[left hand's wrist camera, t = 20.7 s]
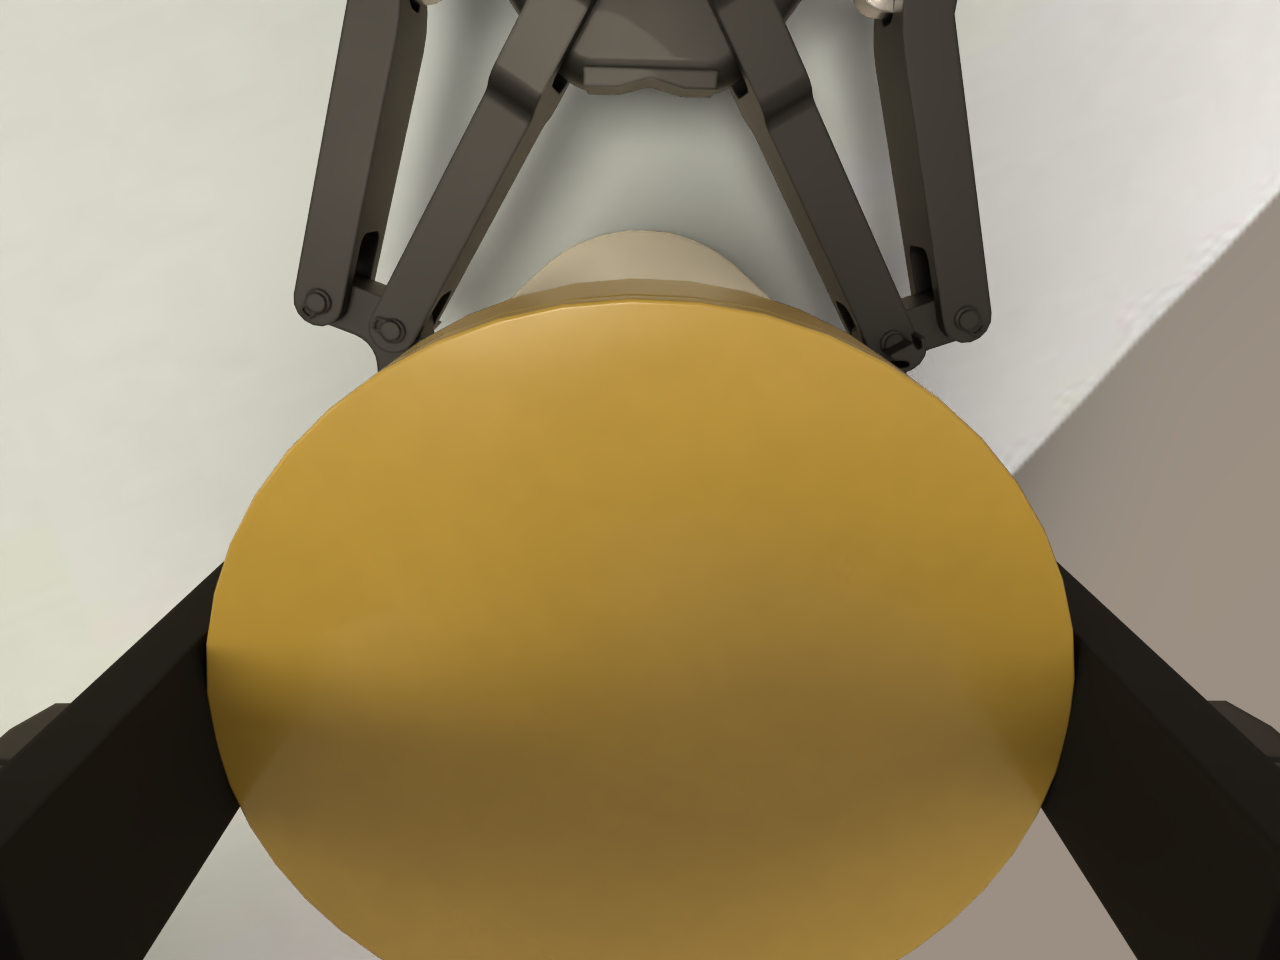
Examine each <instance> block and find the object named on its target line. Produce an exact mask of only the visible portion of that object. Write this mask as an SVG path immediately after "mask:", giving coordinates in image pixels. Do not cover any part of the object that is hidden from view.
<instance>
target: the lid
mask: <svg viewBox="0 0 1280 960" xmlns="http://www.w3.org/2000/svg"><path fill="white" fill-rule="evenodd" d="M1074 681H1075V673H1074V645H1073V627H1072V622H1071V617H1070V612H1069V607H1068V602H1067V597H1066V592H1065V587H1064V582H1063V578H1062V575H1061V573H1060V570H1059V567H1058V565H1057V562H1056V559H1055V557H1054V554H1053V551H1052V549H1051V546H1050V543H1049V541H1048V538H1047V535H1046V533H1045V530H1044V528H1043V527H1042V525H1041V523H1040V521H1039V519H1038V518H1037V516H1036V514H1035V512H1034V511H1033V509H1032V507H1031V506H1030V504H1029V502H1028V500H1027V498H1026V497H1025V495H1024V493H1023V491H1022V490H1021V488H1020V486H1019V484H1018V483H1017V481H1016V480H1015V479H1014V478H1013V476H1012V475H1011V474H1010V473H1009V471H1008V470H1007V469H1006V468H1005V466H1004V465H1003V464H1002V463H1001V461H1000V460H999V459H998V458H997V456H996V455H995V454H994V453H993V451H992V450H991V449H990V448H989V446H988V445H987V444H986V443H985V441H984V440H983V439H982V438H981V437H980V436H979V435H978V434H977V433H976V432H975V431H974V430H973V429H971V428H970V427H969V426H968V425H967V424H966V423H965V422H964V421H963V420H962V419H961V418H960V417H958V416H957V415H956V414H955V413H954V412H953V411H952V410H951V409H950V408H949V407H948V406H947V405H945V404H944V403H943V402H942V401H941V400H940V399H939V398H938V397H936V396H935V395H934V394H932V393H931V392H930V391H928V390H927V389H926V388H924V387H923V386H922V385H920V384H919V383H918V382H916V381H915V380H914V379H912V378H911V377H910V376H908V375H907V374H905V373H904V372H903V371H901V370H900V369H899V368H897V367H896V366H895V365H893V364H892V363H891V362H889V361H888V360H886V359H885V358H883V357H882V356H880V355H879V354H877V353H876V352H875V351H873V350H872V349H870V348H869V347H867V346H866V345H864V344H863V343H861V342H860V341H858V340H857V339H855V338H854V337H852V336H851V335H850V334H848V333H846V332H844V331H842V330H840V329H838V328H836V327H834V326H832V325H830V324H828V323H826V322H824V321H822V320H820V319H818V318H816V317H814V316H812V315H810V314H808V313H806V312H804V311H802V310H800V309H797V308H794V307H791V306H788V305H785V304H782V303H779V302H776V301H773V300H770V299H767V298H764V297H761V296H758V295H755V294H752V293H749V292H746V291H740V290H735V289H730V288H724V287H719V286H713V285H708V284H703V283H697V282H692V281H678V280H657V279H636V278H630V279H618V280H607V281H595V282H584V283H574V284H570V285H565V286H561V287H556V288H552V289H547V290H543V291H538V292H534V293H529V294H525V295H521V296H518V297H515V298H512V299H510V300H507V301H504V302H502V303H499V304H496V305H494V306H491V307H488V308H486V309H483V310H480V311H477V312H475V313H472V314H469V315H467V316H465V317H463V318H462V319H460V320H458V321H456V322H454V323H452V324H451V325H449V326H447V327H445V328H443V329H441V330H439V331H438V332H436V333H434V334H432V335H430V336H428V337H427V338H425V339H423V340H421V341H420V342H418V343H417V344H415V345H414V346H413V347H411V348H410V349H409V350H407V351H406V352H405V353H403V354H402V355H401V356H399V357H398V358H397V359H395V360H394V361H393V362H391V363H390V364H389V365H387V366H386V367H384V368H383V369H382V370H380V371H379V372H378V373H376V374H375V375H374V376H372V377H371V378H370V379H368V380H367V381H366V382H364V383H363V384H362V385H360V386H359V387H358V388H356V389H355V390H354V391H352V392H351V393H350V394H348V395H347V396H346V397H344V398H343V399H342V400H340V401H339V402H338V403H336V404H335V405H333V406H332V407H331V408H329V409H328V410H327V411H326V412H325V413H324V414H323V415H322V416H321V417H320V418H319V419H318V420H317V421H316V422H315V423H314V424H313V425H312V426H311V427H310V428H309V429H308V430H307V431H306V432H305V433H304V434H303V435H302V437H301V438H300V439H299V440H298V441H297V442H296V443H295V444H294V445H293V446H292V447H291V448H290V449H289V450H288V451H287V452H286V453H285V455H284V456H283V457H282V459H281V460H280V462H279V463H278V464H277V466H276V467H275V468H274V470H273V471H272V473H271V474H270V475H269V477H268V478H267V479H266V481H265V482H264V484H263V485H262V486H261V488H260V489H259V490H258V492H257V493H256V495H255V496H254V498H253V500H252V502H251V504H250V506H249V508H248V510H247V512H246V514H245V516H244V517H243V519H242V521H241V523H240V525H239V527H238V529H237V531H236V533H235V535H234V537H233V539H232V541H231V543H230V546H229V549H228V552H227V555H226V558H225V561H224V564H223V567H222V570H221V573H220V577H219V580H218V583H217V586H216V589H215V592H214V598H213V604H212V611H211V617H210V624H209V631H208V637H207V696H208V702H209V707H210V712H211V716H212V721H213V726H214V731H215V736H216V740H217V744H218V748H219V752H220V756H221V760H222V763H223V767H224V770H225V773H226V776H227V779H228V782H229V785H230V787H231V789H232V791H233V793H234V795H235V797H236V799H237V801H238V803H239V805H240V807H241V809H242V811H243V813H244V815H245V817H246V819H247V821H248V823H249V825H250V827H251V829H252V830H253V832H254V833H255V834H256V836H257V837H258V839H259V840H260V842H261V843H262V845H263V846H264V848H265V849H266V851H267V852H268V854H269V855H270V857H271V858H272V860H273V861H274V863H275V864H276V865H277V867H278V868H279V869H280V870H281V871H282V872H283V873H284V875H285V876H286V877H287V878H288V879H289V880H290V881H291V883H292V884H293V885H294V886H295V887H296V888H297V889H298V891H299V892H300V893H301V894H302V895H303V896H304V898H305V899H306V900H307V901H308V902H310V903H311V904H312V905H313V906H314V907H315V908H316V909H317V910H318V911H320V912H321V913H322V914H323V915H324V916H325V917H326V918H327V919H328V920H330V921H331V922H332V923H333V924H334V925H335V926H336V927H337V928H338V929H340V930H341V931H342V932H343V933H345V934H346V935H348V936H349V937H350V938H352V939H353V940H355V941H356V942H357V943H359V944H360V945H362V946H363V947H364V948H366V949H367V950H369V951H370V952H371V953H373V954H374V955H376V956H377V957H378V958H380V959H382V960H898V959H900V958H902V957H903V956H905V955H907V954H908V953H910V952H912V951H913V950H915V949H916V948H917V947H918V946H920V945H921V944H922V943H924V942H925V941H926V940H928V939H929V938H930V937H932V936H933V935H934V934H936V933H937V932H938V931H940V930H941V929H942V928H943V927H945V926H946V925H947V924H949V923H950V922H951V921H952V920H953V919H954V918H955V917H956V916H957V915H958V914H959V913H960V912H961V911H963V910H964V909H965V908H966V907H967V906H968V905H969V904H970V903H971V902H972V901H973V900H974V899H975V898H976V897H977V896H978V895H979V894H980V893H981V892H982V891H983V890H984V889H985V888H986V887H987V885H988V884H989V883H990V882H991V881H992V879H993V878H994V877H995V876H996V874H997V873H998V872H999V871H1000V869H1001V868H1002V867H1003V866H1004V865H1005V863H1006V862H1007V861H1008V860H1009V858H1010V857H1011V856H1012V855H1013V853H1014V852H1015V850H1016V848H1017V847H1018V845H1019V844H1020V842H1021V840H1022V839H1023V837H1024V835H1025V834H1026V832H1027V831H1028V829H1029V827H1030V826H1031V824H1032V822H1033V821H1034V819H1035V818H1036V816H1037V814H1038V812H1039V810H1040V808H1041V805H1042V803H1043V801H1044V799H1045V796H1046V794H1047V792H1048V790H1049V787H1050V785H1051V783H1052V781H1053V778H1054V776H1055V774H1056V771H1057V768H1058V764H1059V760H1060V756H1061V752H1062V748H1063V743H1064V739H1065V735H1066V731H1067V727H1068V721H1069V716H1070V711H1071V706H1072V698H1073V689H1074Z"/></svg>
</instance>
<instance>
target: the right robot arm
mask: <svg viewBox="0 0 1280 960" xmlns="http://www.w3.org/2000/svg"><path fill="white" fill-rule="evenodd" d="M440 1H441V0H347V5H346V10H345V16H344V21H343V27H342V32H341V38H340V43H339V49H338V54H337V60H336V65H335V71H334V76H333V82H332V87H331V93H330V98H329V104H328V109H327V115H326V120H325V126H324V131H323V137H322V142H321V148H320V153H319V159H318V164H317V170H316V175H315V181H314V186H313V192H312V197H311V203H310V208H309V214H308V219H307V225H306V230H305V236H304V241H303V247H302V252H301V258H300V263H299V269H298V274H297V280H296V285H295V291H294V305H295V307H296V310H297V312H298V314H299V315H300V316H301V317H302V318H303V319H304V320H305V321H307V322H309V323H311V324H312V325H317V326H325V325H331V326H333V327H336V328H339V329H341V330H344V331H347V332H349V333H352V334H355V335H356V336H358V337H360V338H362V339H363V340H364V341H366V342H367V343H368V344H369V346H370V347H371V348H372V350H373V352H374V354H375V356H376V360H377V368H378V372H379V371H380V370H382V369H383V368H384V367H386V366H387V365H389V364H390V363H391V362H393V361H394V360H395V359H397V358H398V357H399V356H401V355H402V354H403V353H405V352H406V351H407V350H409V349H410V348H411V347H413V346H414V345H415V344H417V343H418V342H420V341H421V340H423V339H425V338H427V337H428V336H430V335H432V334H434V329H436V328H437V327H438V326H439V324H440V323H441V321H439V319H440V317H441V315H442V313H443V312H444V310H445V308H446V306H447V304H448V302H449V300H450V299H451V297H452V295H453V293H454V291H455V289H456V287H457V286H458V284H459V282H460V280H461V278H462V276H463V275H464V273H465V271H466V269H467V267H468V265H469V263H470V262H471V260H472V258H473V256H474V254H475V252H476V250H477V249H478V247H479V245H480V243H481V241H482V239H483V237H484V236H485V234H486V232H487V230H488V228H489V226H490V224H491V223H492V221H493V219H494V217H495V215H496V213H497V212H498V210H499V208H500V206H501V204H502V202H503V200H504V199H505V197H506V195H507V193H508V191H509V189H510V187H511V186H512V184H513V182H514V180H515V178H516V176H517V174H518V173H519V171H520V169H521V167H522V165H523V163H524V162H525V160H526V158H527V156H528V154H529V152H530V150H531V149H532V147H533V145H534V143H535V141H536V139H537V137H538V136H539V134H540V132H541V130H542V128H543V127H544V125H545V124H546V122H547V121H548V120H549V119H550V117H551V116H552V114H553V112H554V111H555V109H556V107H557V105H558V104H559V102H560V100H561V98H562V96H563V94H564V92H565V91H566V89H567V87H568V85H569V83H571V84H573V85H575V86H577V87H579V88H581V89H584V90H586V91H587V92H588V94H604V95H620V94H624V93H628V92H631V91H635V90H639V89H643V88H646V87H652V88H655V89H658V90H661V91H664V92H667V93H671V94H674V95H677V96H680V97H708V98H710V97H711V96H712V95H713V94H714V93H718V92H721V91H723V90H725V89H727V88H730V91H731V93H732V95H733V97H734V99H735V101H736V103H737V105H738V108H739V110H740V112H741V114H742V116H743V118H744V120H745V121H746V123H747V125H748V126H749V127H750V129H751V130H752V132H753V134H754V136H755V138H756V140H757V142H758V144H759V146H760V148H761V150H762V153H763V155H764V157H765V159H766V161H767V163H768V165H769V167H770V170H771V172H772V174H773V176H774V178H775V180H776V182H777V184H778V187H779V189H780V191H781V193H782V195H783V197H784V199H785V202H786V204H787V206H788V208H789V210H790V212H791V214H792V216H793V219H794V221H795V223H796V225H797V227H798V229H799V231H800V233H801V236H802V238H803V240H804V242H805V244H806V246H807V248H808V250H809V253H810V255H811V257H812V259H813V261H814V263H815V265H816V268H817V270H818V272H819V274H820V276H821V278H822V280H823V282H824V285H825V287H826V289H827V291H828V293H829V295H830V297H831V299H832V302H833V304H834V306H835V308H836V310H837V312H838V314H839V317H840V319H841V321H842V323H843V325H844V327H845V329H846V331H847V333H848V334H850V335H851V336H852V337H854V338H855V339H857V340H858V341H860V342H861V343H863V344H864V345H866V346H867V347H869V348H870V349H872V350H873V351H875V352H876V353H877V354H879V355H880V356H882V357H883V358H885V359H886V360H888V361H889V362H891V363H892V364H893V365H895V366H896V367H897V368H899V369H900V370H901V371H903V372H904V373H905V374H906V373H907V371H910V370H912V369H914V368H915V367H916V366H918V365H919V364H920V363H921V361H922V360H923V358H924V356H925V353H926V351H927V350H929V349H932V348H935V347H938V346H941V345H944V344H947V343H951V342H954V341H958V342H961V343H965V342H972V341H974V340H976V339H978V338H980V337H981V336H982V335H983V334H984V333H985V332H986V331H987V329H988V327H989V325H990V323H991V306H990V298H989V289H988V281H987V273H986V265H985V257H984V249H983V241H982V233H981V225H980V217H979V209H978V200H977V192H976V184H975V176H974V168H973V160H972V152H971V144H970V136H969V128H968V120H967V111H966V103H965V95H964V87H963V79H962V71H961V63H960V55H959V47H958V39H957V31H956V23H955V9H956V4H957V0H853V1H854V3H855V6H856V8H857V9H858V10H859V12H860V13H861V14H863V15H864V16H866V17H869V18H873V19H875V20H874V56H875V66H876V73H877V79H878V85H879V92H880V98H881V105H882V111H883V117H884V124H885V130H886V136H887V143H888V149H889V156H890V162H891V168H892V175H893V181H894V188H895V194H896V200H897V207H898V213H899V219H900V226H901V232H902V239H903V245H904V251H905V258H906V264H907V270H908V277H909V283H910V290H911V295H910V296H907V297H904V298H900V296H899V293H898V291H897V289H896V286H895V284H894V282H893V280H892V277H891V275H890V273H889V270H888V268H887V266H886V264H885V261H884V259H883V257H882V255H881V252H880V250H879V248H878V245H877V243H876V241H875V239H874V236H873V234H872V232H871V230H870V227H869V225H868V223H867V220H866V218H865V216H864V214H863V211H862V209H861V207H860V205H859V202H858V200H857V198H856V195H855V193H854V191H853V189H852V186H851V184H850V182H849V180H848V177H847V175H846V173H845V170H844V168H843V166H842V164H841V161H840V159H839V157H838V155H837V152H836V150H835V148H834V145H833V143H832V141H831V139H830V136H829V134H828V132H827V129H826V127H825V125H824V123H823V120H822V118H821V116H820V114H819V111H818V109H817V107H816V104H815V102H814V99H813V94H812V87H811V83H810V80H809V77H808V74H807V72H806V70H805V67H804V65H803V63H802V60H801V58H800V56H799V54H798V51H797V49H796V47H795V44H794V42H793V40H792V38H791V35H790V33H789V31H788V28H787V26H786V24H785V22H786V21H787V19H788V18H789V16H790V15H791V14H792V12H793V11H794V10H795V8H796V7H797V5H798V4H799V3H800V1H801V0H509V1H510V2H511V4H512V5H513V7H514V8H515V10H516V11H517V13H518V15H519V17H518V19H517V21H516V23H515V25H514V26H513V28H512V30H511V32H510V34H509V36H508V38H507V40H506V42H505V44H504V46H503V48H502V50H501V52H500V54H499V56H498V58H497V60H496V62H495V64H494V66H493V68H492V71H491V73H490V76H489V80H488V85H487V89H486V91H485V93H484V96H483V98H482V100H481V102H480V103H479V105H478V107H477V109H476V111H475V113H474V115H473V117H472V119H471V121H470V123H469V125H468V127H467V129H466V131H465V133H464V135H463V137H462V139H461V141H460V143H459V145H458V147H457V149H456V151H455V153H454V154H453V156H452V158H451V160H450V162H449V164H448V166H447V168H446V170H445V172H444V174H443V176H442V178H441V180H440V182H439V184H438V186H437V188H436V190H435V192H434V194H433V196H432V198H431V200H430V202H429V204H428V205H427V207H426V209H425V211H424V213H423V215H422V217H421V219H420V221H419V223H418V225H417V227H416V229H415V231H414V233H413V235H412V237H411V239H410V241H409V243H408V245H407V247H406V249H405V251H404V253H403V255H402V256H401V258H400V260H399V262H398V264H397V266H396V268H395V270H394V272H393V274H392V276H391V278H390V280H389V282H388V284H387V285H384V284H382V283H379V282H376V281H375V276H376V272H377V267H378V263H379V258H380V253H381V249H382V244H383V239H384V235H385V230H386V225H387V221H388V216H389V211H390V207H391V202H392V197H393V193H394V188H395V183H396V179H397V174H398V169H399V165H400V160H401V155H402V151H403V146H404V141H405V137H406V132H407V127H408V123H409V118H410V113H411V109H412V104H413V100H414V95H415V90H416V86H417V81H418V76H419V72H420V67H421V62H422V58H423V53H424V46H425V40H426V33H427V5H432V4H436V3H438V2H440Z"/></svg>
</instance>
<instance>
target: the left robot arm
mask: <svg viewBox="0 0 1280 960" xmlns="http://www.w3.org/2000/svg"><path fill="white" fill-rule="evenodd" d="M1056 562H1057V561H1056ZM223 564H224V562H223V563H222V564H221V565H220V566H218V567H217V568H216V569H215V570H214V571H213V572H212V573H211V574H210V575H209V576H208V577H207V578H205V579H204V580H203V581H202V582H201V583H200V584H199V585H198V586H197V587H196V588H195V589H194V590H193V591H191V592H190V593H189V594H188V595H187V596H186V597H185V598H184V599H183V600H182V601H181V602H180V603H178V604H177V605H176V606H175V607H174V608H173V609H172V610H171V611H170V612H169V613H168V614H167V615H166V616H164V617H163V618H162V619H161V620H160V621H159V622H158V623H157V624H156V625H155V626H154V627H153V628H151V629H150V630H149V631H148V632H147V633H146V634H145V635H144V636H143V637H142V638H141V639H140V640H138V641H137V642H136V643H135V644H134V645H133V646H132V647H131V648H130V649H129V650H128V651H127V652H126V653H124V654H123V655H122V656H121V657H120V658H119V659H118V660H117V661H116V662H115V663H114V664H113V665H111V666H110V667H109V668H108V669H107V670H106V671H105V672H104V673H103V674H102V675H101V676H100V677H99V678H97V679H96V680H95V681H94V682H93V683H92V684H91V685H90V686H89V687H88V688H87V689H86V690H84V691H83V692H82V693H81V694H80V695H79V696H78V697H77V698H76V699H75V700H74V701H73V702H72V703H55V704H54V705H52V706H50V707H48V708H47V709H45V710H43V711H41V712H40V713H38V714H36V715H34V716H32V717H31V718H29V719H27V720H25V721H24V722H22V723H20V724H18V725H17V726H15V727H13V728H11V729H10V730H9V731H7V732H6V733H5V734H4V735H3V736H2V737H1V738H0V960H143V959H144V957H145V955H146V954H147V952H148V951H149V949H150V948H151V946H152V944H153V943H154V941H155V940H156V938H157V936H158V935H159V933H160V932H161V930H162V929H163V927H164V925H165V924H166V922H167V921H168V919H169V918H170V916H171V914H172V913H173V911H174V910H175V908H176V907H177V905H178V903H179V902H180V900H181V899H182V897H183V896H184V894H185V892H186V891H187V889H188V888H189V886H190V884H191V883H192V881H193V880H194V878H195V877H196V875H197V873H198V872H199V870H200V869H201V867H202V866H203V864H204V862H205V861H206V859H207V858H208V856H209V855H210V853H211V851H212V850H213V848H214V847H215V845H216V844H217V842H218V840H219V839H220V837H221V836H222V834H223V832H224V831H225V829H226V828H227V826H228V825H229V823H230V821H231V820H232V818H233V817H234V815H235V814H236V812H237V810H238V809H239V807H240V805H239V803H238V801H237V799H236V797H235V795H234V793H233V791H232V789H231V787H230V785H229V782H228V779H227V776H226V773H225V770H224V767H223V763H222V760H221V756H220V752H219V748H218V744H217V740H216V736H215V731H214V726H213V721H212V716H211V712H210V707H209V702H208V696H207V637H208V631H209V624H210V617H211V611H212V604H213V598H214V592H215V589H216V586H217V583H218V580H219V577H220V573H221V570H222V567H223ZM1057 565H1058V567H1059V570H1060V573H1061V575H1062V578H1063V582H1064V587H1065V592H1066V597H1067V602H1068V607H1069V612H1070V617H1071V622H1072V627H1073V645H1074V673H1075V681H1074V689H1073V698H1072V706H1071V711H1070V716H1069V721H1068V727H1067V731H1066V735H1065V739H1064V743H1063V748H1062V752H1061V756H1060V760H1059V764H1058V768H1057V771H1056V774H1055V776H1054V778H1053V781H1052V783H1051V785H1050V787H1049V790H1048V792H1047V794H1046V796H1045V799H1044V801H1043V803H1042V805H1041V808H1042V809H1043V811H1044V813H1045V814H1046V816H1047V817H1048V819H1049V821H1050V822H1051V824H1052V825H1053V827H1054V828H1055V830H1056V832H1057V833H1058V835H1059V836H1060V838H1061V840H1062V841H1063V843H1064V844H1065V846H1066V847H1067V849H1068V850H1069V852H1070V854H1071V855H1072V857H1073V858H1074V860H1075V862H1076V863H1077V865H1078V866H1079V868H1080V869H1081V871H1082V873H1083V874H1084V876H1085V877H1086V879H1087V881H1088V882H1089V884H1090V885H1091V887H1092V888H1093V890H1094V891H1095V893H1096V895H1097V896H1098V898H1099V899H1100V901H1101V903H1102V904H1103V906H1104V907H1105V909H1106V910H1107V912H1108V914H1109V915H1110V917H1111V918H1112V920H1113V921H1114V923H1115V925H1116V926H1117V928H1118V929H1119V931H1120V932H1121V934H1122V935H1123V937H1124V939H1125V940H1126V942H1127V944H1128V945H1129V947H1130V948H1131V950H1132V951H1133V953H1134V955H1135V956H1136V958H1137V959H1138V960H1280V733H1278V732H1277V731H1276V730H1275V729H1274V728H1273V727H1272V726H1270V725H1268V724H1266V723H1264V722H1263V721H1261V720H1259V719H1257V718H1256V717H1254V716H1252V715H1250V714H1248V713H1247V712H1245V711H1243V710H1241V709H1240V708H1238V707H1236V706H1234V705H1232V704H1231V703H1229V702H1227V701H1207V700H1206V699H1205V698H1204V697H1203V696H1201V695H1200V694H1199V693H1198V692H1197V691H1196V690H1195V689H1194V688H1193V687H1192V686H1191V685H1190V684H1188V683H1187V682H1186V681H1185V680H1184V679H1183V678H1182V677H1181V676H1180V675H1179V674H1178V673H1177V672H1176V671H1174V670H1173V669H1172V668H1171V667H1170V666H1169V665H1168V664H1167V663H1166V662H1165V661H1164V660H1163V659H1162V658H1160V657H1159V656H1158V655H1157V654H1156V653H1155V652H1154V651H1153V650H1152V649H1151V648H1150V647H1149V646H1147V645H1146V644H1145V643H1144V642H1143V641H1142V640H1141V639H1140V638H1139V637H1138V636H1137V635H1136V634H1134V633H1133V632H1132V631H1131V630H1130V629H1129V628H1128V627H1127V626H1126V625H1125V624H1124V623H1123V622H1122V621H1120V620H1119V619H1118V618H1117V617H1116V616H1115V615H1114V614H1113V613H1112V612H1111V611H1110V610H1109V609H1107V608H1106V607H1105V606H1104V605H1103V604H1102V603H1101V602H1100V601H1099V600H1098V599H1097V598H1096V597H1095V596H1093V595H1092V594H1091V593H1090V592H1089V591H1088V590H1087V589H1086V588H1085V587H1084V586H1083V585H1082V584H1080V583H1079V582H1078V581H1077V580H1076V579H1075V578H1074V577H1073V576H1072V575H1071V574H1070V573H1069V572H1068V571H1066V570H1065V569H1064V568H1063V567H1062V566H1061V565H1060V564H1059V563H1058V562H1057Z"/></svg>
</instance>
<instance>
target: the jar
mask: <svg viewBox="0 0 1280 960" xmlns="http://www.w3.org/2000/svg"><path fill="white" fill-rule="evenodd" d="M630 278H636V279H657V280H678V281H692V282H697V283H703V284H708V285H713V286H719V287H724V288H730V289H735V290H740V291H746V292H749V293H752V294H755V295H758V296H761V297H764V298H767V299H770V298H769V297H768V296H767V295H766V294H765V293H764V292H763V291H762V290H761V289H760V288H758V287H757V286H756V285H755V284H754V283H753V282H752V281H751V280H750V279H749V278H748V277H747V276H746V275H745V274H744V273H742V272H741V271H740V270H739V269H738V268H737V267H736V266H735V265H734V264H732V263H731V262H730V261H729V260H728V259H726V258H725V257H723V256H722V255H720V254H719V253H717V252H716V251H714V250H713V249H711V248H709V247H707V246H705V245H703V244H701V243H699V242H697V241H694V240H691V239H688V238H685V237H682V236H679V235H676V234H671V233H665V232H660V231H648V230H632V231H621V232H614V233H610V234H606V235H601V236H598V237H595V238H592V239H590V240H587V241H584V242H582V243H579V244H577V245H576V246H574V247H572V248H570V249H568V250H566V251H565V252H563V253H561V254H560V255H559V256H557V257H556V258H555V259H553V260H552V261H551V262H549V263H548V264H547V265H546V266H545V267H543V268H542V269H541V270H540V271H539V272H538V273H537V274H536V275H535V276H534V277H533V278H532V279H531V280H530V281H529V282H527V283H526V284H525V285H524V286H523V287H522V288H521V289H520V290H519V291H518V292H517V293H516V294H515V295H514V296H513V297H511V298H510V299H512V298H515V297H518V296H521V295H525V294H529V293H534V292H538V291H543V290H547V289H552V288H556V287H561V286H565V285H570V284H574V283H584V282H595V281H607V280H618V279H630ZM510 299H509V300H510ZM770 300H771V299H770Z"/></svg>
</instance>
